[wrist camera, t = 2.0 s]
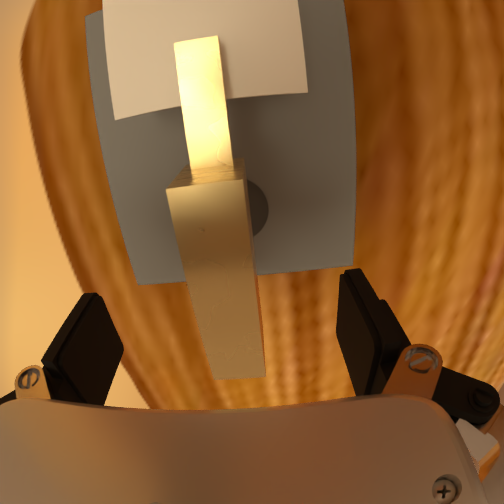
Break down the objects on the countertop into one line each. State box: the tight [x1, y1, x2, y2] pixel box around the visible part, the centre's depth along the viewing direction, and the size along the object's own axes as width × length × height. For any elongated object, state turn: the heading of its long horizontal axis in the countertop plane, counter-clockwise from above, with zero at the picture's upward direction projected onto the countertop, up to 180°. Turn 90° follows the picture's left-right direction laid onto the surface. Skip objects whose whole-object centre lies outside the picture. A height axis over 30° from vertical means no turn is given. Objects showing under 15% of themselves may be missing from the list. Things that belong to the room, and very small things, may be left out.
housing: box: [85, 0, 356, 285], centre depth 18 cm, size 16×20×2 cm
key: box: [166, 36, 266, 380], centre depth 14 cm, size 2×14×9 cm, turn 6°
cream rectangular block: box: [103, 0, 308, 120], centre depth 12 cm, size 8×6×6 cm
